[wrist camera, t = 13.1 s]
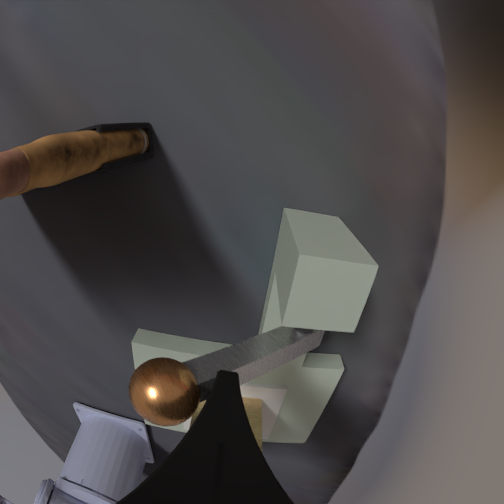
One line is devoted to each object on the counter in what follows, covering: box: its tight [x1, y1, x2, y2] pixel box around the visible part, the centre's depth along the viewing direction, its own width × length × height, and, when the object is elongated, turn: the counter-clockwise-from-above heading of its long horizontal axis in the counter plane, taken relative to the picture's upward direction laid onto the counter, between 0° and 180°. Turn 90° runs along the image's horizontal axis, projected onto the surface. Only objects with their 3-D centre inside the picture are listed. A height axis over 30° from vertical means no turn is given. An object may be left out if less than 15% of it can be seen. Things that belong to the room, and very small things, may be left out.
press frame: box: [131, 208, 379, 443], centre depth 16 cm, size 20×14×6 cm
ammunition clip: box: [0, 123, 154, 200], centre depth 9 cm, size 11×2×12 cm, turn 94°
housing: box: [189, 397, 262, 452], centre depth 17 cm, size 4×4×6 cm
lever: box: [129, 326, 325, 426], centre depth 11 cm, size 3×3×9 cm
